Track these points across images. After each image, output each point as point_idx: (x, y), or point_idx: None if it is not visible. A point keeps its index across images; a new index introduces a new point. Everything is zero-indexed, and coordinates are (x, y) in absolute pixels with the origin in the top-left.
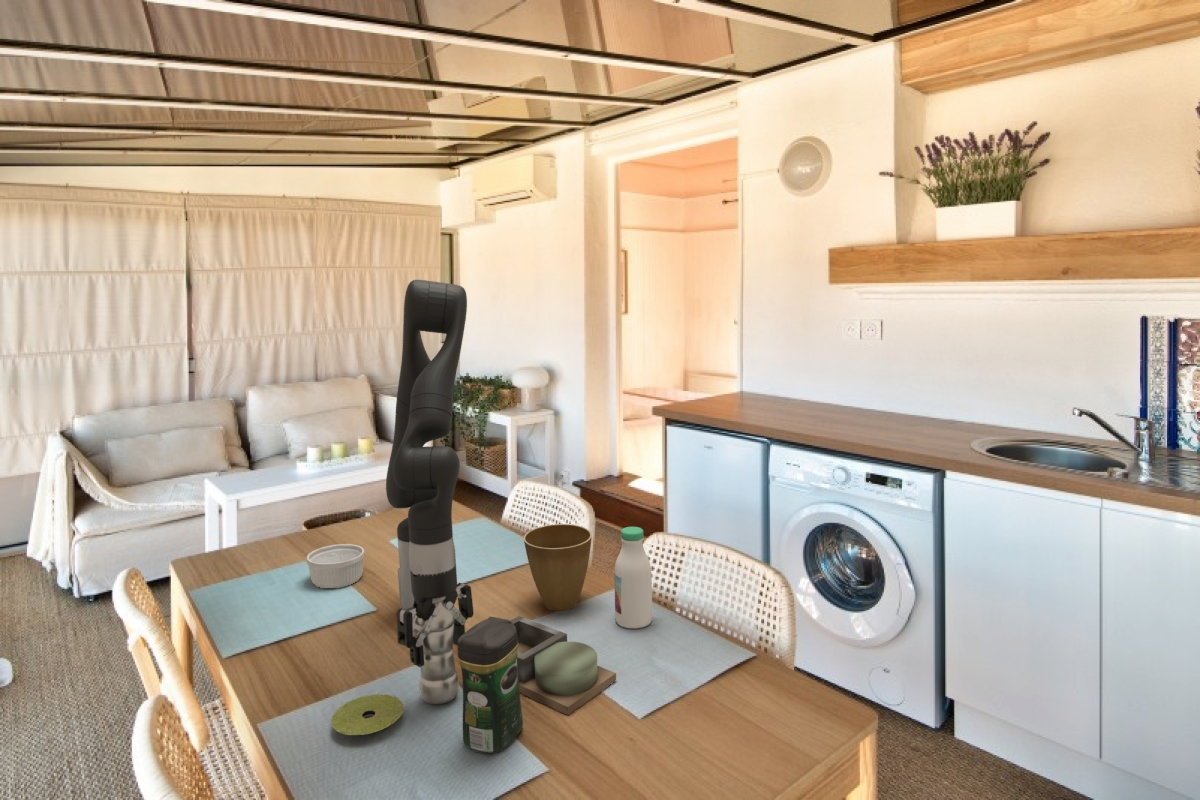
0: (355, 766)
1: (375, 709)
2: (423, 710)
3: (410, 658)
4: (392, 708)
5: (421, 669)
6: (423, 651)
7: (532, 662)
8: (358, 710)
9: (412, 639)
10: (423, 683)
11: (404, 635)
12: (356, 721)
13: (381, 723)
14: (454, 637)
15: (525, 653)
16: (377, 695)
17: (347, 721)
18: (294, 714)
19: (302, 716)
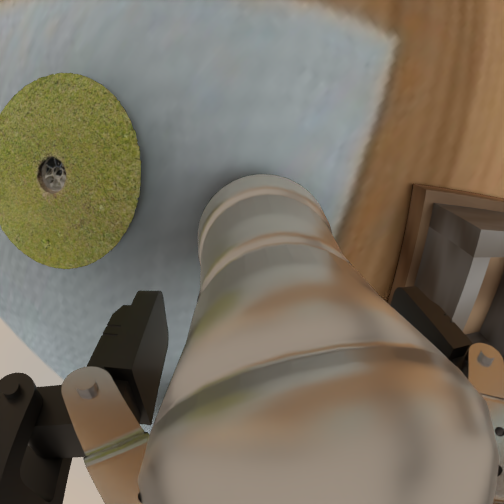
0: (8, 277)
1: (69, 170)
2: (190, 231)
3: (109, 321)
4: (101, 207)
5: (207, 244)
6: (156, 395)
7: None
8: (40, 138)
9: (67, 470)
10: (198, 250)
11: (25, 433)
12: (20, 184)
13: (55, 244)
14: (409, 315)
15: None
16: (110, 103)
17: (9, 166)
18: (7, 11)
19: (8, 28)
